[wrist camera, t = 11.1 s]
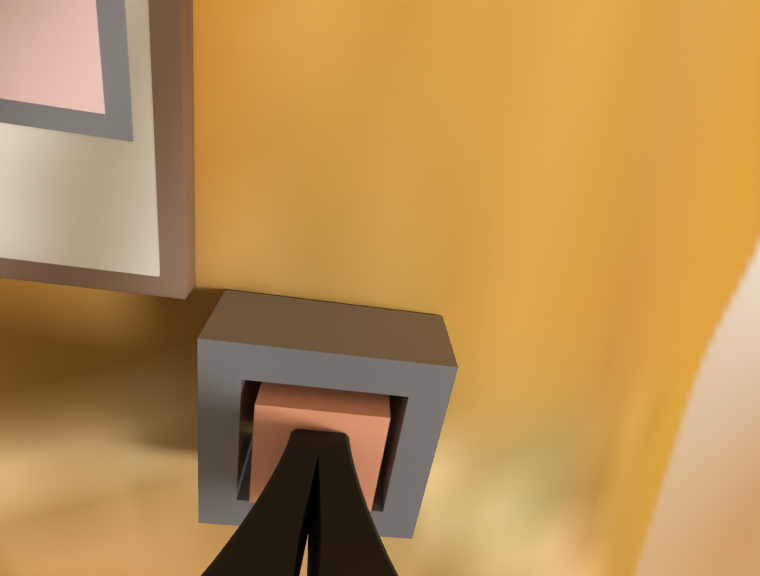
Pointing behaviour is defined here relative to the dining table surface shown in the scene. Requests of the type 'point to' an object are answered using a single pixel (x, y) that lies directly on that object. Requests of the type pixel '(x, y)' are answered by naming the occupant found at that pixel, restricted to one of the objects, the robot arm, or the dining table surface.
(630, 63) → the dining table surface
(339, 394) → the button
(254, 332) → the button housing
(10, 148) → the colouring board
